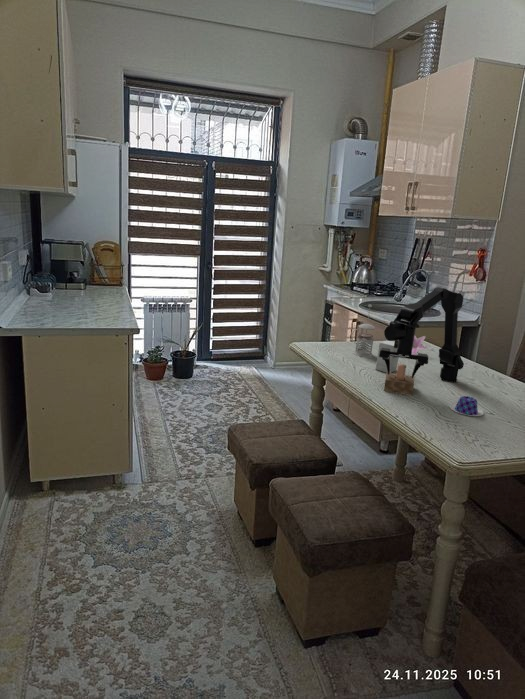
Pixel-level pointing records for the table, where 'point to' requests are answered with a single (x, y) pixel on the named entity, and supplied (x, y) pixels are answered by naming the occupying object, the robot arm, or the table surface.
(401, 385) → the bore block
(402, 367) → the pin
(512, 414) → the table surface
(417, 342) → the lily
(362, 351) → the french press
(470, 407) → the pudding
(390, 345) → the supplement box
